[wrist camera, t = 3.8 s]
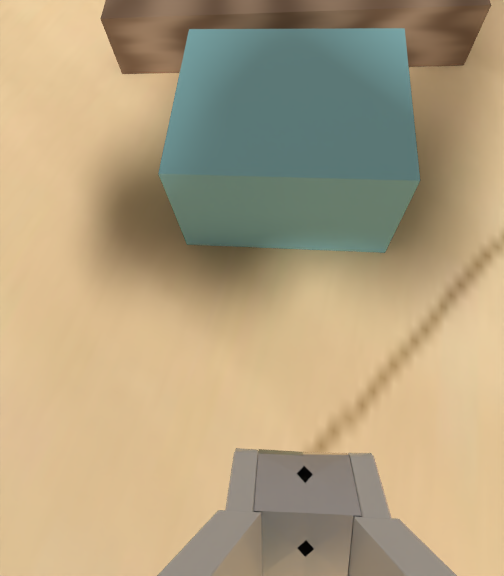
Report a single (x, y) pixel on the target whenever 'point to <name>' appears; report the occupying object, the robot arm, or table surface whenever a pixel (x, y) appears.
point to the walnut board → (287, 25)
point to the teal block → (292, 138)
